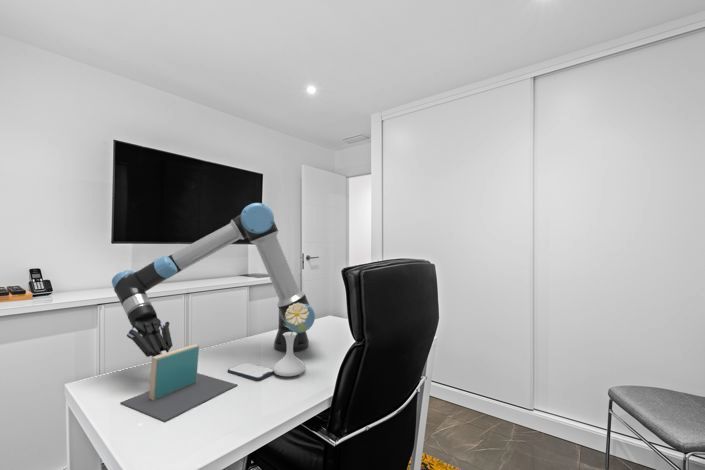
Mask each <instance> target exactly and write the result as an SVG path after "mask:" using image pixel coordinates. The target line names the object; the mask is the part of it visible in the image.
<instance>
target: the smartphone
mask: <svg viewBox="0 0 705 470" xmlns="http://www.w3.org/2000/svg"><path fill="white" fill-rule="evenodd" d="M227 374H230V375H234V376H237V377H241V378H243V379H247V380H250V381H253V382H262V381H264V380H265V379H266V380H267V379H268V378H270V377H272V376H274V375H276V374H275V373H274V371H273V368H269V367H265V366H262V365H257V364H253V363H249V362H242V363H240V364H238V365H235V366H232V367H230V368H228V369H227Z"/></svg>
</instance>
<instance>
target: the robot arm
mask: <svg viewBox="0 0 705 470" xmlns="http://www.w3.org/2000/svg"><path fill="white" fill-rule="evenodd" d="M275 222H276V221H275V216H274V213H273V210H271V208H270V207H269V206H267V205H266V204H264V203H261V202H254V203H253V202H252V203H250V204H249V205H246V206H245V207H244V208H243V209H242V211H241V213H240V214H238V215H237V216H236V217H235V218H232V219H231V220H230V222H229V223H228V224H226V225H225V226H222V227H221V228H219V229H217V230H215V231H213V232H212V233H209V234H207V235H205V236H204V237H201V238H200V239H198V240H196V241H194V242H192V243H191V244H188V245H187V246H185V247H183V248H181V249H179V250H177V251H175V252H174V253H171V254H170V255H164V256H163V255H162V256H161V257H160V258H157V259H155V260H154V261H152V262H150V263H149V264H147V265H145V266H144V267H142V268H141V269H139V270H137V271H134V270H130V269H129V270H128V269H127V270H124V271H120V272H117V274H115V275H114V276H113V278H112V279H111V284H112V287H113V291H114V293H115V294H116V296H117V298H118V300H119V302H120V304H121V306H122V309H123V310H124V312H125V314H126V316H127V319H128V322H129V323H130V325H131V326H132V327H131V329H130V330H129V331H128V333H127V334H126V337H127V338H129V339H131V340H132V342H133V343H134V344H135V345H136V346H137V347H138V348H139V350H141V352H142V353H143V354H144V355H145V357H147V358H149V357H151V358H152V357H154V356H157V355H161V354H164V353H167V352H170V349H172V348H173V341H172V337H171V332H170V322H169V321H166V322H163V321H161V319H159V318H158V314H157V311H156V309H155V308H154V306H153V305H152V302H151V300H150V298H149V296H148V294H147V293H146V292H147V291H149V290H151V289H152V288H154V287H156V286H157V285H160V284H161V283H162V282H164V281H167V280H168V279H170V278H172V277H174V276H175V275H177V274H179V273H181V272H182V271H184V270H185V269H188V268H190V267H191V266H193V265H195V264H196V263H198V262H200V261H202V260H203V259H206V258H208V257H209V256H211V255H213V254H215V253H216V252H219V251H220V250H222V249H224V248H226V247H227V246H230V245H231V244H234V243H235V242H237V241H238V240H245V239H248V241H249V243H250V244H253V245H255V247H256V249H257V251H258V253H259V256H260V258H261V260H262V263H263V266H264V268H265V270H266V272H267V274H268V277H269V279H270V282H271V284H272V286H273V288H274V290H275V293H276V296H277V297H278V303H277V307H278V330H277V333H276V336H275V337H274V341H273V348H274V350H276V351H280V352H285V353H286V351H287V345H286V339H285V337H284V336H283V333H286V332H292V331H293V330H294V328H295V327H296V325H293V324H290V323H288V322H287V320H288V319H286V316H285V313H286V311H287V309H288V308H289V306H291V305H293V304H297V303H300V304H303V305H305V306H307V309H308V311H307V312H309V315H308V317H307V318H306V321H305V322H303V323H301V324H304V325H305V326H306V327H307V329H308V330H310V329H311V327H312V326H313V324H314V322H315V319H316V315H315V310H314V309H313V307H312V306H311V305H310V303H309V300H308V298H307V296H306V293H305V292H303V291H301V290H300V289H299V287H298V284H297V282H296V279H295V277H294V275H293V273H292V270H291V268H290V265H289V263H288V261H287V259H286V256H285V253H284V251H283V249H282V246H281V244H280V242H279V239H278V236H277V235H278V234H279V229H278V227H277V224H276V223H275ZM284 325H285V326H284ZM299 325H300V324H299ZM286 326H288V327H290V328H291V329H290V328H288V327H286ZM297 326H298V325H297ZM308 330H306V331H299V330H298V329H297V327H296V329H295V330H294V331H293V332H296V333H297V335H296V337H295V339H294V343H293V352H300V351H302V350H306V349H308V348H309V344H310V343H309V342H310V341H309V337H308V334H307V331H308ZM305 348H306V349H305Z"/></svg>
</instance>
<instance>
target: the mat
mask: <svg viewBox="0 0 705 470" xmlns="http://www.w3.org/2000/svg"><path fill="white" fill-rule="evenodd" d="M236 387H238V384H237V383H233V382H230V381H226V380H223V379H220V378H215V377H213V376H208V375H206V374H201V373H198V372H197V381H196V383H193V384H191V385H189V386H186V387H184V388H181V389H179V390H177V391H174V392H172V393H170V394H167V395H165V396H163V397H160V398H158V399H156V400H151V399H149V392H150V390H148V391H146V392H142V393H140V394H137V395H135V396H134V397H133V396H132V397H131V398H128V399H125V400H123V401H121V402H120V405H123V406H125V407H127V408H130V409H131V410H134V411H137V412H139V413H141V414H144V415H145V416H149V417H151V418H154V419H156V420H158V421H161V422H163V423H166V422H168V421H170V420H173V419H174V418H177V417H179V416H180V415H182V414H184V413H186V412H188V411H190V410H192V409H194V408H196V407H198V406H201V405H202V404H204V403H206V402H209V401H210V400H212V399H214V398H217V397H218V396H220V395H222V394H224V393H226V392H228V391H231V390H233V389H235V388H236Z"/></svg>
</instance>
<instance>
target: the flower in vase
mask: <svg viewBox="0 0 705 470" xmlns="http://www.w3.org/2000/svg"><path fill="white" fill-rule="evenodd" d="M307 311H308V309H307V306H305V305H303V304H300V303H297V304H293V305H291V306H289V308H288V309H287V311H286V313H285V316H286V319H288V320H287V322H288V323H290V324H293V325H296V327H297V329H298V330H299V331H306V330H307V331H308V330H309V329H307V327H306V326H305V325H304V324H301V323H303V322H305V321H306V318H307V317H308V315H309V312H307ZM299 324H300V325H299ZM297 325H298V326H297ZM284 326H285V325H284ZM286 327H288V326H286ZM296 327H295V328H294V330H295V329H296ZM288 328H290V327H288ZM290 329H291V328H290ZM294 330H293V331H294ZM293 331H292V332H286V333H283V336H284V337H285V339H286V345H287V351H286V352H285V355H284V356H283V357H282V358H281V359H279V360H278V361H277V362H276V363H275V364H274V366H273V368H272V369H273V371H274V373H275V374H274V375H277V376H281V377H295V376H298V375H300V374H302V373H304V372H305V370H306V368H307V367H306V364H305V363H304V362H303V361H302V360H301V359H300V358H298V357H297V356H295V354H294V351H293V343H294V339H295V337H296V335H297V333H296V332H293ZM307 331H306V332H307Z"/></svg>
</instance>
